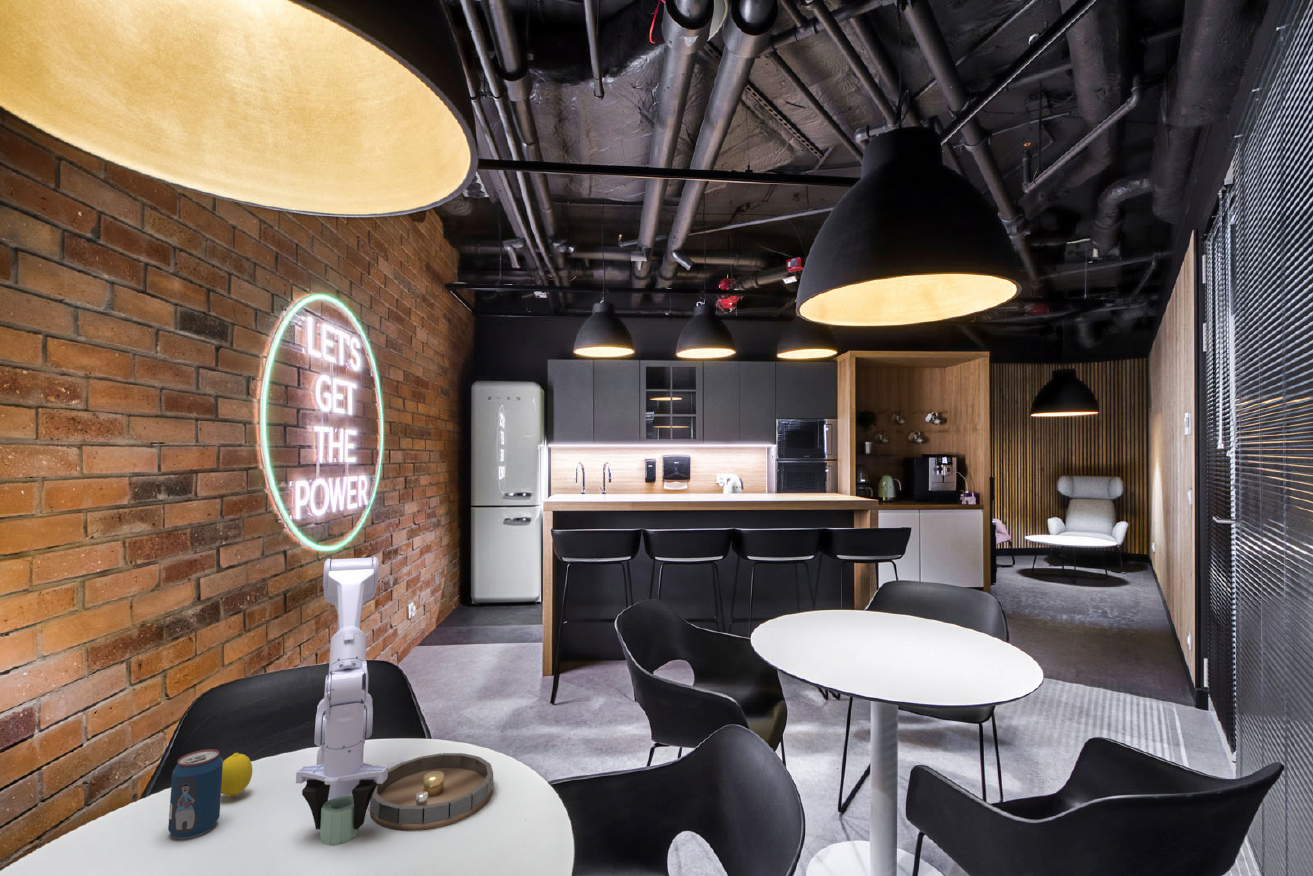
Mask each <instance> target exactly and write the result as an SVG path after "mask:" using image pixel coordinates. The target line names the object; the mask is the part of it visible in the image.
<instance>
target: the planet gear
mask: <svg viewBox="0 0 1313 876" xmlns="http://www.w3.org/2000/svg"><path fill="white" fill-rule="evenodd" d="M359 830H360V828H359V829H354V800H353V795H344V796H339V797H336V798H333V799H330V800H329V801H327V802H326V803H324V804H323V806H322V808H321V827H320V829H319V832H320V833H319V841H320V842H321V843H322V844H323V845H327V846H328V845H329V846H332V845H340V844H342V843H346V842H348V841H351V840H352V839H354V838H355V837H356V836H357V835H358V832H359Z"/></svg>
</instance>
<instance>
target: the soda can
mask: <svg viewBox="0 0 1313 876" xmlns="http://www.w3.org/2000/svg"><path fill="white" fill-rule="evenodd" d="M220 755H221V754H220V751H219V750H218V749H212V748H209V749H201V750H196V751H193V752H190V753H187V754H185V755H182V756H181V757H180V758H178V760H177V764H176V766H175V767H174V769H173V770H172V773H171V774H172V775H171V784H170V785H171V786H170V799H169V800H170V801H169V813H168V824H167V825H168V827H167V829H168V832H169V834H170V835H171V836H172V837H173V839H177V840H189V839H194V838H196V837H199V836H202V835H204V834H206V833H207V831H208V832H209V831H211V830H212V829H213V828H214V826H215V825H216V823H217V821H218V820H219V819H220V813H221V802H222V801H221V796H222V793H221V785H222V769H223V762H224V760H223V759H222V757H221V756H220ZM210 829H211V830H210ZM203 833H204V834H203ZM201 834H202V835H201ZM188 838H189V839H188Z"/></svg>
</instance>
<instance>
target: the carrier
mask: <svg viewBox="0 0 1313 876" xmlns="http://www.w3.org/2000/svg"><path fill="white" fill-rule="evenodd" d="M493 788H494V770H493V766H492V763H490V762H488V761H487V760H485V759H484V758H482V757H480V756H477V755H473V754H469V753H461V752H457V753H456V752H453V753H452V752H443V753H442V752H441V753H434V754H430V755H429V754H428V755H423V756H418V757H415V758H412V759H409V760H405V761H403V762H399V763H398V764H395V765H394V766H391V767H390V768H388V777H387V779H386V780H385V781H384V782H383V783H382V784H377V786H376V788H375V790H374V793H373V795H372V797H371V800H370V802H369V814H370V817H371V819H372V820H373V821H374V822H375V823H376V824H378V825H379V826H382V827H384V828H388V829H392V830H397V831H407V832H408V831H409V832H413V831H414V832H415V831H425V830H432V829H438V828H442V827H446V826H449V825H452V824H454V823H457V822H460V821H463V820H465V819H467V818H469V817H471V816H472V815H474V814H476V813H477V812H479V811H480V810H482V809H483V808H484V807H485V806H486V805H487V804H488V802H489V801H490V799H491V798H492V795H493V791H492V790H493ZM483 806H484V807H483ZM470 815H471V816H470Z"/></svg>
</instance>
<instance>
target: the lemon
mask: <svg viewBox="0 0 1313 876" xmlns="http://www.w3.org/2000/svg"><path fill="white" fill-rule="evenodd" d="M252 775H253V765H252V761H251V759H250V758H249V756H247V755H246V754H243V753H239V752H235V753H233V754H232V755H230V756H229V757H227V758H225V759H224V760H223V769H222V785H221V795H223V796H228V797H230V798H232V799H233V798H235V797H237V795H238V794H240V793H242V792H243V791H244V790H245V789H246V788H247V787H248V785H249V784H250V782H251V779H252Z"/></svg>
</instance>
